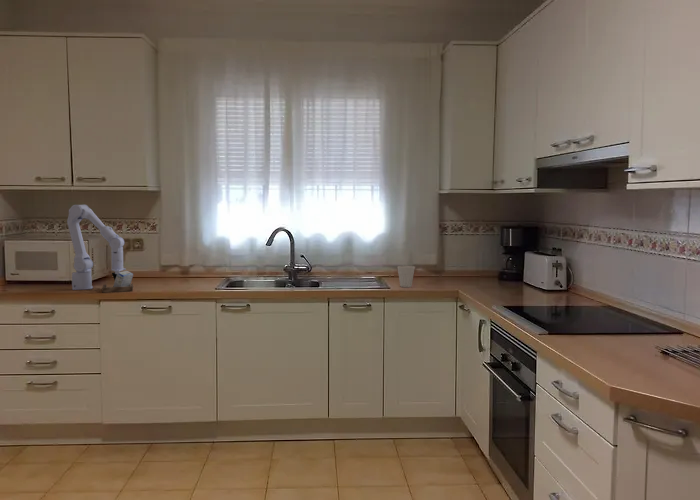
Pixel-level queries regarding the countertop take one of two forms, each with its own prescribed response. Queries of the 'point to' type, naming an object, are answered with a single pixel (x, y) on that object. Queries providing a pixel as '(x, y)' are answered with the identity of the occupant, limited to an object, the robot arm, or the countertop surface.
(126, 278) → the medicine box
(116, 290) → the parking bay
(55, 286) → the countertop surface
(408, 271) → the cup
